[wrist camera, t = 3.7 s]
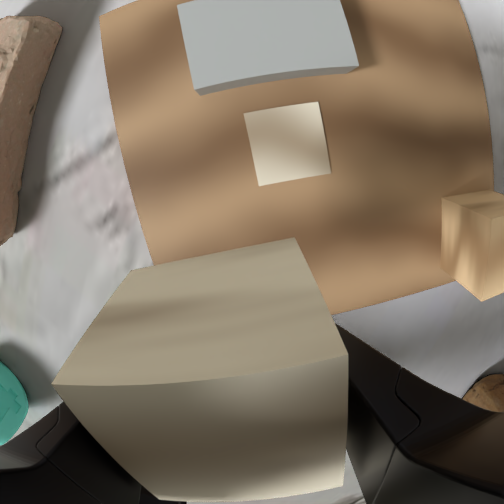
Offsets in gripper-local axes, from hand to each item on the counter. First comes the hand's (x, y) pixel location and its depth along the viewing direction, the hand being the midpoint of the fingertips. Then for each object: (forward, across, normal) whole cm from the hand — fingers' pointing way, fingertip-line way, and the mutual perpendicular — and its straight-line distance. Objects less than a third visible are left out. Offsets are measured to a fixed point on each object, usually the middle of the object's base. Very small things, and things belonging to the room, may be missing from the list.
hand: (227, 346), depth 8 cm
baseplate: (+10, -7, -5) cm, 13 cm away
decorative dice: (+10, +32, +11) cm, 36 cm away
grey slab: (+9, -4, -11) cm, 15 cm away
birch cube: (+1, 0, 0) cm, 1 cm away
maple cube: (+9, -16, +2) cm, 18 cm away
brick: (+11, +16, -13) cm, 23 cm away
